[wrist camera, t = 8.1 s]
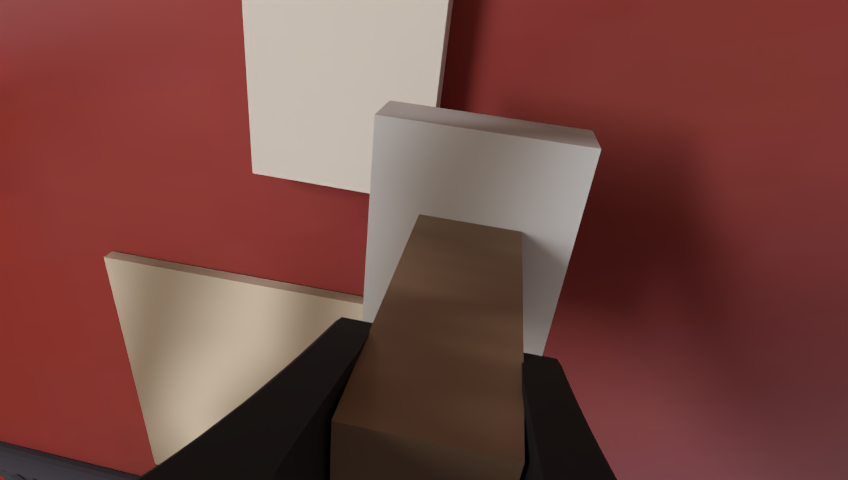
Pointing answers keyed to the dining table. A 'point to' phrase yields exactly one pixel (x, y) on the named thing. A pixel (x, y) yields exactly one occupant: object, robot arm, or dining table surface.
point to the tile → (336, 80)
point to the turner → (457, 290)
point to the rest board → (210, 339)
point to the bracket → (51, 466)
